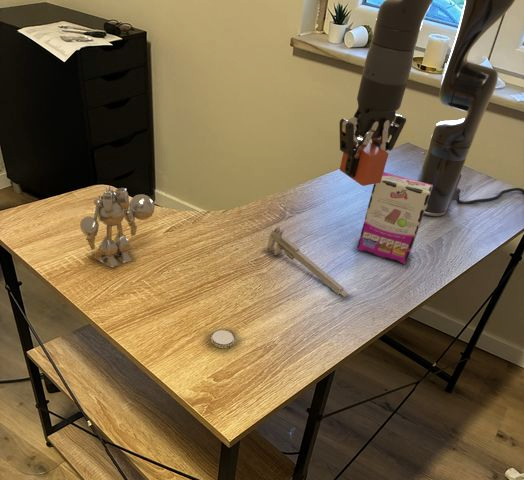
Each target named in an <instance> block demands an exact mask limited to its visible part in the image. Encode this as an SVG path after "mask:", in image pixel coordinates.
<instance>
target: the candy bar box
mask: <svg viewBox="0 0 524 480" xmlns="http://www.w3.org/2000/svg"><path fill="white" fill-rule="evenodd" d="M432 187H433V185H431V184H427V183H423V182H420V181H417V179H411V178H408V177H404V176H400V175H396V174H393V173H388V172H385V171H384V172H383V175H382V179H381V182H380V183H376V184H373V186H372V190H371V195H370V197H369V202H368V205H367V210H366V213H365V217H364V220H363V224H362V228H361V231H360V232H361V233H360V236H359V239H358V242H357V245H356V246H357V247H356V250H357V251H360V252H364V253H365V254H370V255H373V256H376V257H379V258H383V259H386V260H389V261H393V262H397V263H399V264H404V265H406V264H407V261H408V260H409V257H410V254H411V252H412V249H413V246H414V243H415V240H416V237H417V234H418V232H419V229H420V227H421V222H422V221H423V217H424V211H425V208H426V205H427V202H428V199H429V196H430V193H431V190H432Z"/></svg>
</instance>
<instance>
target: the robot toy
mask: <svg viewBox="0 0 524 480" xmlns="http://www.w3.org/2000/svg"><path fill="white" fill-rule="evenodd" d="M93 204H94V205H95V210H94V215H93V216H90V215H89V216H85V217H83V218H82V219H81V221H80V223H79V228H80V231H81V233H82V234H83V235H84V236H85V237H86V238H85V241H87V243H88V245H89V248H90V250H91V251H94V250H96V251H95V252H94V256H93V258H94V259H95V260H97V261H98V262H99V263H100V264H101V263H102V264H104V265H106V266H108V267H110V268H115V267H117V266H120V265H121V263H122V264H126V263H130V262H131V261H132V260H133V259H132V257H131V256H130V254H129V252H128V251H129V250H130V249H131V242H130V240H129V238H128V237H126V235H125V234H124V230H123V225H122V222H123V220H125V221H126V222H127V225H128V226H129V227H130V237H131V238H132V237H135V236H136V235H137V234H136V233H137V229H138V227H137V226H138V225H137V224H136V219H137V220H139V221H146V220H148V219H150V218H151V217H152V216H153V215H154V214H155V210H156V209H155V208H156V206H155V202H154V200H153V199H152V198H151V197H150V196H149V195H147V194H143V193H142V194H136V195H134V196H133V197H131V199H130V198H129V193H128V191H127V188H125V187H119V188H116V190H113V189H111V187H110V185H109V186H108V187H107V186H105V191H104V192H103V194H102V195H98V198H94V200H93ZM98 221H100V222H101V223H102V224H104V225H105V226H106V233H105V234H106V235H105V236H104V237H103V240H102V241H101V243H100V245H98V248H97V247H96V245H95V244H96V243H95V241H96V237H97V236H98V232H99V227H100V223H99V222H98ZM113 227H116V231H117V233H116V235H115V237H114V239H112V237H113V236H112V234H113ZM115 256H116V257H118V260H119V261H118V260H117V259H116V258H115Z"/></svg>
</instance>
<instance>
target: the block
mask: <svg viewBox="0 0 524 480" xmlns="http://www.w3.org/2000/svg"><path fill="white" fill-rule="evenodd" d="M357 146H358V143H357V145H356V146H355V150H356V149H357ZM389 154H390V153H389V152H388V151H384V150H382V149H381V148H379V147H377V146H376V145H374V144H373V143H372V141H369V143H368V145H367V146H366V147H364V149H363V151H362V153H361V155H360V157H359V158H360V160H359V164H358V168H357V172H356V176H355V177H353V178H351V177H349V178H351V179H352V180H353V181H355V182H356V183H357V184H359V185H360V186H362V187H364V186H369V185H374V184H376V183H380V182H381V179H382V175H383V172H385V168H386V165H387V160H388V157H389ZM347 157H348V155H347V154H345V153H344V152H342V157H341V161H340V164H339V165H340V166H339V171H340V172H342V173H343V174H345V175H346V173H345V165H346V161H347Z"/></svg>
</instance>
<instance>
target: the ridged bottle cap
mask: <svg viewBox="0 0 524 480" xmlns="http://www.w3.org/2000/svg"><path fill="white" fill-rule="evenodd" d="M235 341H236V336H235V334H234V333H233V332H232V331H230V330H228V329H217V330H215V331H213V332H212V333H211V334H210V342H211V344H212V345H213V346H215V347H216V348H219V349H228V348H230V347H233V346H234V345H235V343H236V342H235Z"/></svg>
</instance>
